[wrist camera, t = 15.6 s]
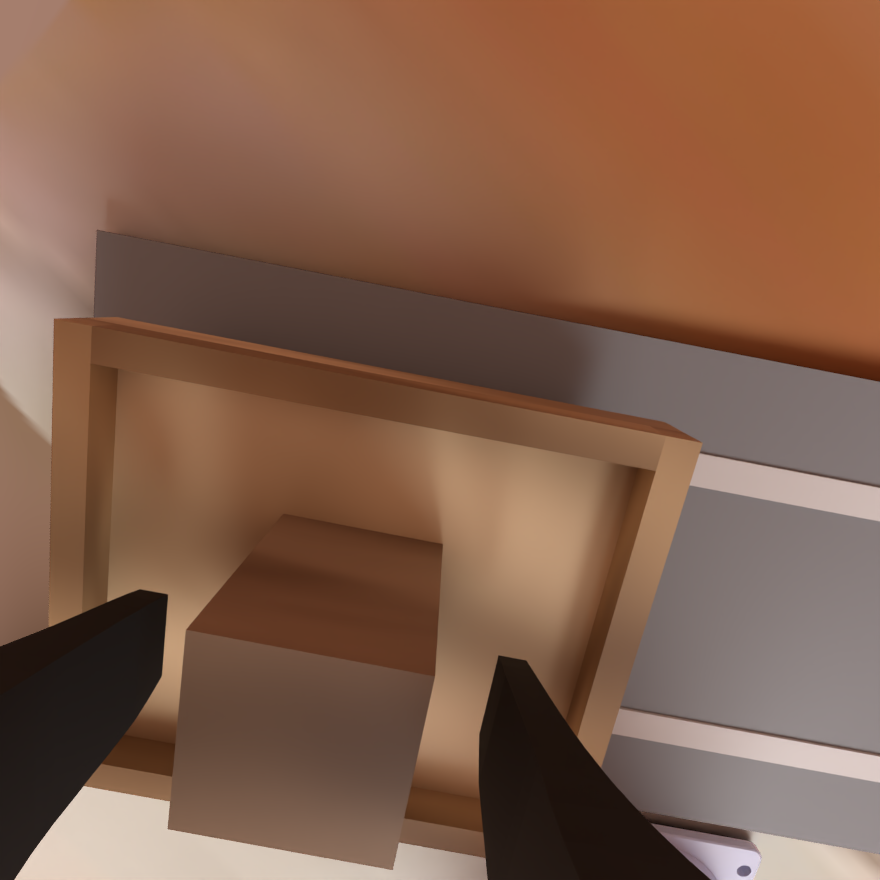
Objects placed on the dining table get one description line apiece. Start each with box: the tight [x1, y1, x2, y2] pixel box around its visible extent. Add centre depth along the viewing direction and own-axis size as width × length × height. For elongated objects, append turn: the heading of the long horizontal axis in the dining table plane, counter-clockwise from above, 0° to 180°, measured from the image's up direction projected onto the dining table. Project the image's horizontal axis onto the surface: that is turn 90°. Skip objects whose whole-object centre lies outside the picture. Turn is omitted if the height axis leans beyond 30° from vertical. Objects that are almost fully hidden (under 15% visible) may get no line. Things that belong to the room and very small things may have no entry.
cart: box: [49, 317, 703, 858], centre depth 15 cm, size 12×14×4 cm
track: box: [94, 230, 880, 854], centre depth 18 cm, size 16×30×1 cm, turn 79°
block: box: [168, 514, 443, 870], centre depth 12 cm, size 4×4×5 cm
